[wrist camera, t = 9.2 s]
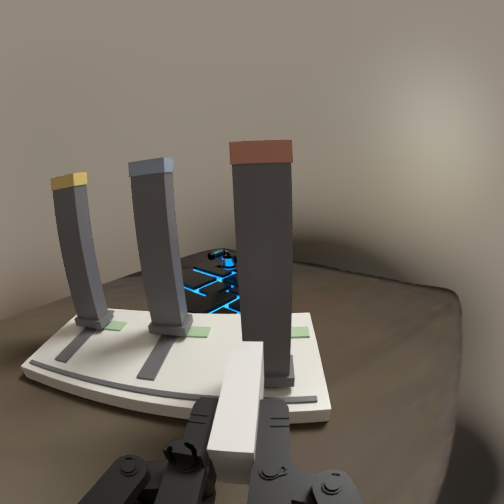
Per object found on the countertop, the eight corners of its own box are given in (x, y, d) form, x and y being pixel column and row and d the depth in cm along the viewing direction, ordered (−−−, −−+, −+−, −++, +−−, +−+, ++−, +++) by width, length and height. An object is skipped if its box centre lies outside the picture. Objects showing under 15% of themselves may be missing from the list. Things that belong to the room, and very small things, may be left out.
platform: (226, 338, 33) (221, 289, 31) (138, 291, 46) (132, 256, 44) (314, 280, 49) (315, 244, 47) (225, 259, 62) (223, 230, 60)
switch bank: (26, 376, 21) (19, 364, 21) (88, 315, 37) (85, 305, 36) (328, 421, 19) (331, 407, 18) (308, 323, 34) (309, 311, 34)
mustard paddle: (76, 325, 30) (47, 179, 24) (88, 314, 33) (63, 177, 28) (102, 329, 29) (73, 173, 24) (113, 317, 32) (89, 171, 27)
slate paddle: (149, 333, 29) (124, 163, 24) (159, 319, 32) (138, 163, 27) (186, 336, 29) (165, 157, 24) (193, 321, 32) (176, 158, 27)
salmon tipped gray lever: (240, 387, 21) (223, 142, 16) (243, 363, 24) (230, 146, 19) (294, 386, 21) (297, 139, 16) (292, 363, 24) (292, 144, 19)
